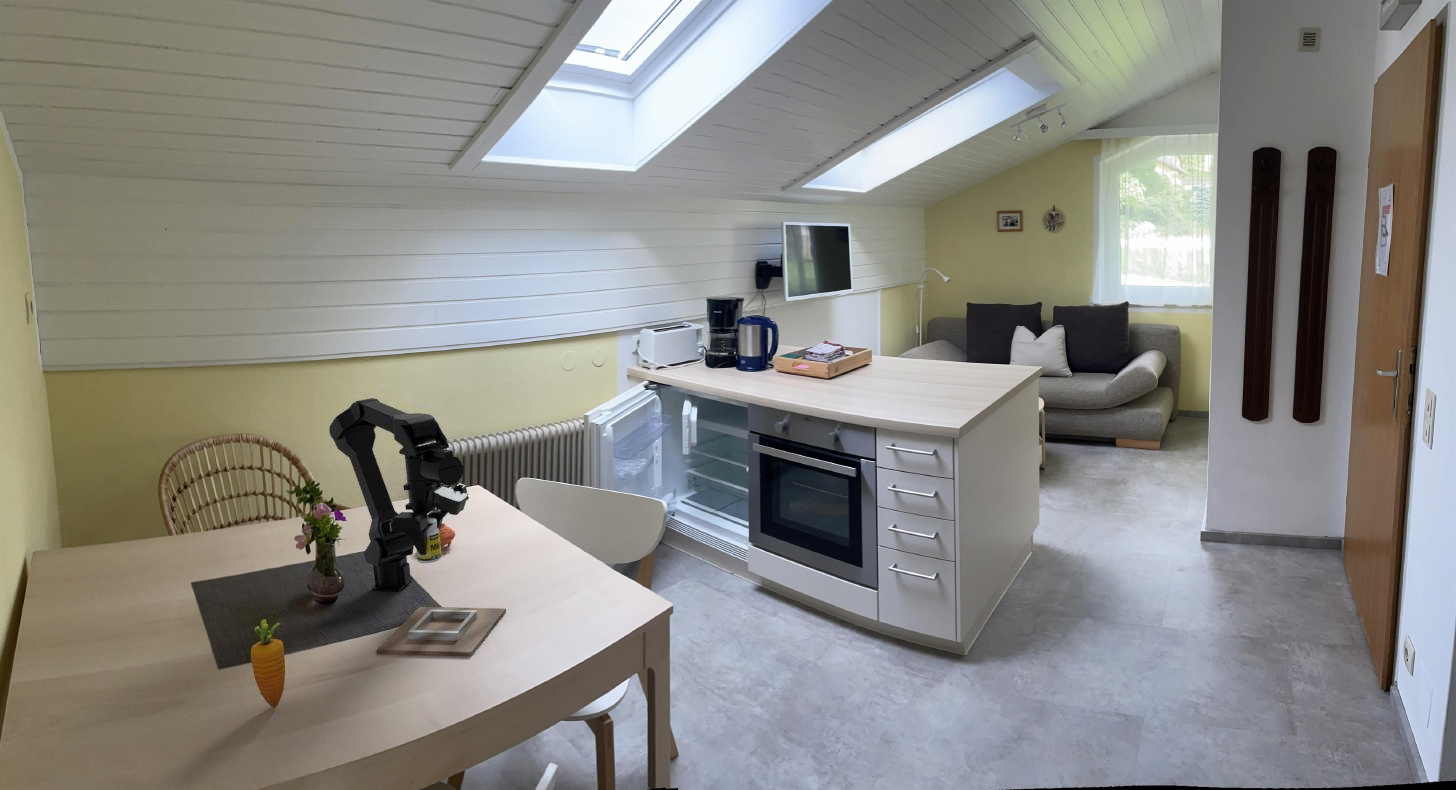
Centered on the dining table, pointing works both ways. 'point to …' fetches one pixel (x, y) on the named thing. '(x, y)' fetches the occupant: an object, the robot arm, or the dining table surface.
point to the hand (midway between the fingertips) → (428, 550)
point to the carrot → (268, 664)
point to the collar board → (443, 631)
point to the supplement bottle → (431, 544)
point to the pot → (446, 535)
